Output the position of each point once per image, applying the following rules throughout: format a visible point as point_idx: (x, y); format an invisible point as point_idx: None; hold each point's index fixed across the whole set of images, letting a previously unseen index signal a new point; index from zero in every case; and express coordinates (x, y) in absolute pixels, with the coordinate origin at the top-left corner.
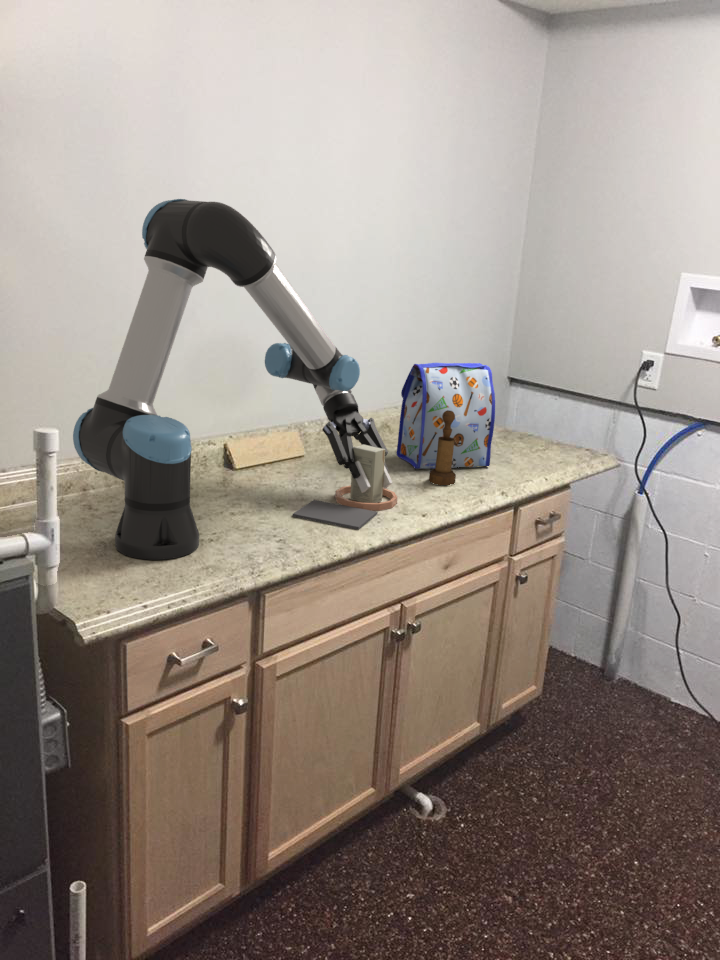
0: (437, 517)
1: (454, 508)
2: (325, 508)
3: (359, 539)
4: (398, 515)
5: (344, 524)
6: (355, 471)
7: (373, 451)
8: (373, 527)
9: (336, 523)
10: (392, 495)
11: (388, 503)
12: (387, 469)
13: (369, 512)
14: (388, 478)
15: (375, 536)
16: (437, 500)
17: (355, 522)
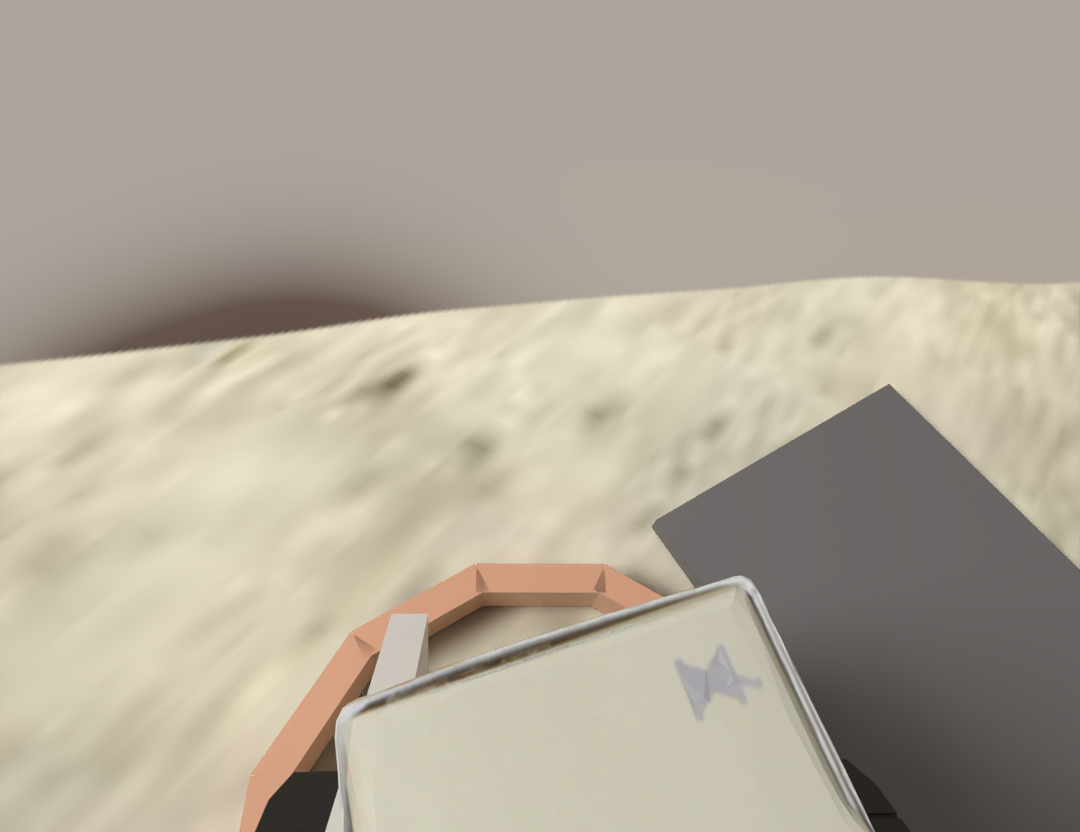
0: (348, 330)
1: (104, 380)
2: (1012, 771)
3: (920, 312)
4: (532, 453)
5: (955, 451)
6: (882, 812)
7: (761, 644)
8: (784, 384)
9: (994, 493)
10: (335, 712)
11: (513, 565)
12: (289, 789)
13: (716, 534)
14: (412, 648)
15: (829, 304)
16: (14, 551)
17: (882, 441)
